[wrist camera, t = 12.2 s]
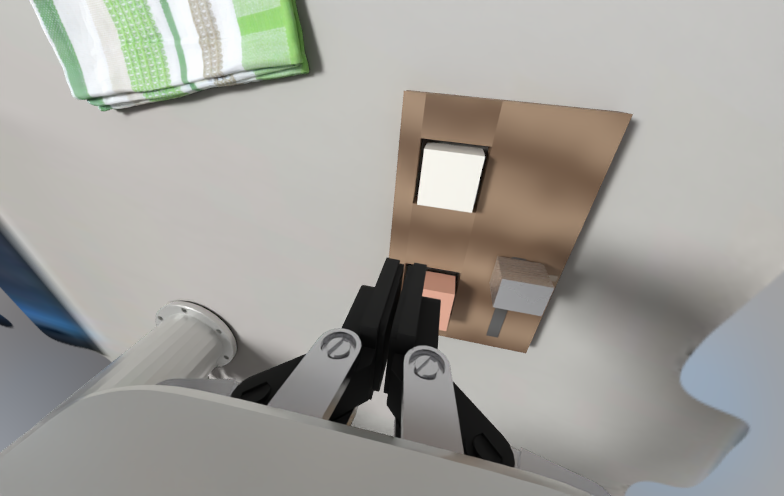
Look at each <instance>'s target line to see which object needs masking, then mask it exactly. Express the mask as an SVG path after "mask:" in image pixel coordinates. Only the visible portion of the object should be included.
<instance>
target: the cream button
mask: <svg viewBox="0 0 784 496" xmlns="http://www.w3.org/2000/svg"><path fill="white" fill-rule="evenodd" d="M484 159H485V154H484V151H483V148H475V147H467V146H458V145H450V144H442V143H434V142H427V144H426V146H425V148H424V154H423V162H422V169H421V177H420V185H419V192H418V200H417V205H423V206H430V207H436V208H443V209H450V210H456V211H463V212H469V213H472V210H473V206H474V202H475V197H476V193H477V189H478V185H479V180H480V176H481V172H482V168H483V163H484Z"/></svg>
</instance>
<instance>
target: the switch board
mask: <svg viewBox="0 0 784 496" xmlns="http://www.w3.org/2000/svg"><path fill="white" fill-rule="evenodd" d="M632 115H633V114H628V113H624V112H618V111H608V110H598V109H588V108H578V107H568V106H558V105H548V104H539V103H529V102H519V101H509V100H499V99H489V98H479V97H469V96H459V95H449V94H440V93H430V92H420V91H410V90H407V91H404V96H403V107H402V118H401V129H400V140H399V151H398V162H397V174H396V185H395V196H394V207H393V218H392V229H391V241H390V252H389V258H391V259H397V260H400V264H404V273H403V280H402V287H403V283H404V280H405V275H406V267H407V263H408V264H414V263H420V264H426V265H427V267H431V268H437V269H442V270H448V271H454V272H459V275H458V279H457V283H456V287H455V296H454V301H453V305H452V309H451V313H450V317H449V321H448V326H447V330H446V331H442V330H439V335H440V336H445V337H450V338H455V339H459V340H464V341H469V342H474V343H479V344H484V345H489V346H493V347H498V348H503V349H508V350H513V351H518V352H523V353H526V352H527V350H528V347H529V345H530V343H531V341H532V338H533V336H534V334H535V332H536V330H537V327H538V325H539V323H540V321H541V318H542V316H543V314H544V312H545V310H544V312H543V314H542V316H537V315H532V314H526V313H521V312H516V311H510V310H505V309H500V308H495V307H493V305H492V298H491V291H490V283H489V282H490V279H491V276H492V273H493V269H494V266H495V263H496V259H497V256H499V257H505V258H511V259H517V260H523V261H529V262H535V263H541V264H544V266H545V268H546V271H547V273H548V275H549V277H550V280H551V282H552V284H553V286H554V289H555V287H556V285H557V283H558V280H559V278H560V276H561V274H562V271H563V269H564V267H565V265H566V262H567V260H568V258H569V256H570V253H571V251H572V249H573V247H574V245H575V242H576V240H577V238H578V236H579V233H580V231H581V229H582V227H583V224H584V222H585V220H586V218H587V215H588V213H589V211H590V209H591V207H592V204H593V202H594V200H595V198H596V195H597V193H598V191H599V189H600V186H601V184H602V182H603V180H604V177H605V175H606V173H607V171H608V169H609V166H610V164H611V162H612V160H613V157H614V155H615V153H616V151H617V148H618V146H619V144H620V142H621V139H622V137H623V135H624V133H625V131H626V128H627V126H628V124H629V122H630V119H631V117H632ZM423 138H424V139H432V140H441V141H449V142H457V143H465V144H474V145H482V146H489V147H488V152H487V156H486V160H485V164H484V169H483V173H482V177H481V181H480V186H479V190H478V194H477V198H476V203H475V205H474V206H473V210H472V213H469V212H463V211H456V210H450V209H443V208H436V207H430V206H423V205H417V200H418V196H416V188H417V180H418V172H419V164H420V157H421V149H422V141H423ZM401 291H402V288H401ZM553 291H554V290H553ZM552 294H553V292H552ZM552 294H551V296H552ZM551 296H550V298H551ZM549 300H550V299H549ZM548 303H549V301H548ZM548 303H547V305H548ZM547 305H546V307H547ZM545 309H546V308H545Z"/></svg>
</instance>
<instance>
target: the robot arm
mask: <svg viewBox="0 0 784 496" xmlns="http://www.w3.org/2000/svg"><path fill="white" fill-rule="evenodd" d="M426 269H427V265H426V264H420V263H414V265H413V266H411V265H408V268H407V272H406V276H405V280H404V283H403V287H402V280H403V273H404V264H400V260H397V259H391V258H386V261H385V263H384V266H383V268H382V271H381V273H380V276H379V278H378V281H377V283H376V286H375V287H371V286H365V285H362V286H361V288H360V290H359V292H358V294H357V296H356V298H355V301H354V303H353V305H352V307H351V309H350V311H349V313H348V316H347V318H346V320H345V322H344V324H343V326H342V328H338V329H332V330H329V331H327V332H325V333H323V334H322V335H321V336H320V337H319V338H318V339H317V341H316V342H315V343H314V345H313V346H312V347H311V349H310V350H309V351H308V353H307V354H305V355H302V356H300V357H297V358H295V359H292V360H290V361H288V362H285V363H283V364H280V365H278V366H276V367H273V368H271V369H268V370H266V371H263V372H261V373H259V374H256V375H254V376H251V377H249V378H248V379H246V380H244V381H242V382H236V379H209V376H208V375H209V374H210V372H211V371H212V370H213V369H214V368H215V367H220V366H224V365H226V364H228V363H229V362H230V361H231V360H232V358H233V357H234V356H235V354H236V351H237V345H236V341H235V338H234V336H233V334H232V332H231V331H230V329H229V328H228V327H227V325H226V324H225V323H224V322H223V321H222V320H221V319H220V318H218V317H217V316H216V315H215V314H213V313H212V312H210V311H209V310H207V309H205V308H203V307H201V306H199V305H196V304H193V303H189V302H184V301H174V302H170V303H167V304H166V305H165V306H163V307H162V308H160V310H159V311H158V312H157V314H156V327H155V328H154V329H152V330H151V331H150V332H149V333H148V334H146V335H145V336H144V337H143V338H141V339H140V340H139V341H138V342H136V343H135V344H134V345H133V346H132V347H130V348H129V349H128V350H127V351H125V352H124V353H123V354H122V355H121V356H119V357H118V358H117V359H116V360H114V361H113V362H112V363H111V364H109V365H108V366H107V367H106V368H105V369H103V370H102V371H101V372H100V373H98V374H97V375H96V376H95V377H94V378H92V379H91V380H90V381H89V382H87V383H86V384H85V385H84V386H82V387H81V388H80V389H79V390H77V391H76V392H75V393H74V394H73V395H72V396H70V397H69V398H68V399H66V400H65V401H64V402H63V403H62V404H60V405H59V406H58V407H57V408H55V409H54V410H53V411H52V412H50V413H49V414H48V415H47V416H45V417H44V418H43V419H42V420H41V421H39V422H38V423H37V424H36V425H35V426H34V427H33V428H32V429H30V430H29V431H28V432H26V433H25V434H24V435H22V436H21V437H20V438H18V439H17V440H16V441H14V442H13V443H12V444H10V445H9V446H8V447H7V448H5V449H4V450H3V451H1V452H0V496H611V495H610V494H609V493H608V492H607V491H606V490H605V489H604V488H603V487H601V486H600V485H598V484H597V483H595V482H594V481H592V480H590V479H588V478H585V477H583V476H581V475H579V474H577V473H575V472H573V471H571V470H568V469H566V468H564V467H562V466H560V465H558V464H556V463H554V462H551V461H549V460H547V459H545V458H543V457H541V456H539V455H537V454H534V453H532V452H530V451H528V450H526V449H524V448H522V447H521V449H520V451H519V450H517V449H515V448H513V447H511V446H510V444H509V443H508V442H507V440H506V439H505V438H504V436H503V435H502V434H501V433H500V432H499V431H498V430H497V429H496V428H495V427H494V425H493V424H492V423H491V422H490V421H489V420H488V419H487V418H486V417H485V416H484V415H483V414H482V412H481V411H480V410H479V409H478V408H477V407H476V406H475V405H474V404H473V403H472V402H471V400H470V399H469V398H468V397H467V396H466V395H465V394H464V393H463V392H462V391H461V390H460V389H459V387H458V386H457V385H456V384H455V383H454V382H453V380H452V374H451V367H450V364H449V361H448V359H447V358H446V356H445V355H444V354H443V353H442V352H441V351H439V350H438V335H439V321H440V307H441V300H440V299H434V298H429V297H424V296H422V294H423V288H424V281H425V275H426ZM401 288H402V291H401ZM386 363H387V368H386V376H385V385H384V393H387V394H388V397H387V406H388V407H389V409H390V410H391V412H392V413H393V415H394V416H395V420H394V437H393V436H389V435H385V434H381V433H376V432H372V431H368V430H364V429H360V428H356V427H352V426H351V423H352V421H353V419H354V417H355V415H356V413H357V409H358V406H359V405H361V404H362V403H364V402H366V401H368V399H370V400H371V399H372V395H373V391H379V390H380V386H381V383H382V379H383V375H384V371H385V367H386Z"/></svg>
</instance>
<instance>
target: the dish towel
mask: <svg viewBox="0 0 784 496" xmlns="http://www.w3.org/2000/svg"><path fill="white" fill-rule="evenodd" d="M29 1H30V3H31V5H32V6H33V8H34V10H35V12H36V15H37V17H38V19H39V21H40V24H41V26H42V28H43V30H44V32H45V34H46V36H47V38H48V40H49V42H50V44H51V45H52V47H53V49H54V51H55V53H56V55H57V57H58V59H59V61H60V63H61V65H62V68H63V70H64V74H65V78H66V81H67V83H68V85H69V88H70V90H71V94H72V96H73V97H74V98H76V99H79V100H86V99H87V101H88V103H89V104H91V105H94V106H98V108H99V110H101V111H107V110H110V109H122V108H129V107H132V106H138V105H141V104H146V103H153V102H157V101H163V100H169V99H175V98H177V97H182V96H185V95H189V94H192V93H194V92H198V91H201V90H204V89H208V88H211V87H221V86H232V85H240V84H246V83H249V82H259V81H261V80H270V79H277V78H283V77H289V76H294V75H297V74H307V73H309V66H308V61H307V58H306V55H305V50H304V40H303V33H302V28H301V24H300V20H299V16H298V11H297V7H296V1H295V0H29Z"/></svg>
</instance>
